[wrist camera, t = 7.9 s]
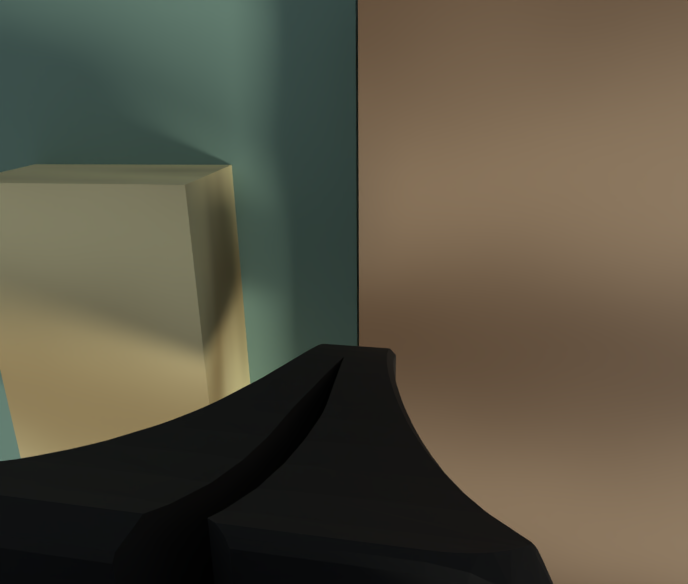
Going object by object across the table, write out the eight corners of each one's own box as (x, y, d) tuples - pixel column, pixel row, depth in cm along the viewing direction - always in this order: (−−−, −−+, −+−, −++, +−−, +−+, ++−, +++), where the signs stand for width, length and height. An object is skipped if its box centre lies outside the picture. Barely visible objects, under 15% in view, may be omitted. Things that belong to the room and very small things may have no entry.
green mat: (360, 567, 18) (358, 578, 18) (3, 518, 20) (-6, 527, 20) (359, -71, 13) (355, -75, 12) (-130, -47, 15) (-146, -49, 14)
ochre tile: (23, 471, 15) (82, 418, 18) (218, 492, 14) (254, 432, 17) (-43, 183, 13) (35, 164, 15) (184, 184, 12) (231, 164, 14)
